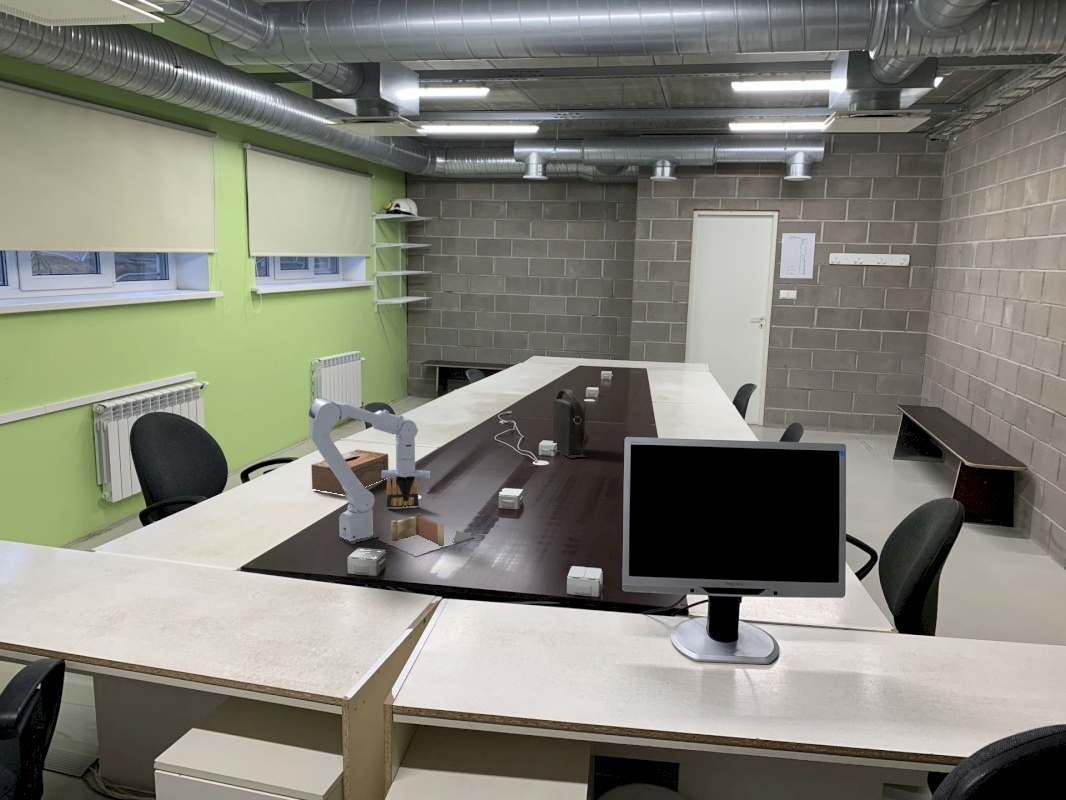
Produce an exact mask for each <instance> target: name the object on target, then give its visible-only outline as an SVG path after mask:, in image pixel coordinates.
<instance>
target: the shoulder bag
mask: <svg viewBox="0 0 1066 800" xmlns="http://www.w3.org/2000/svg"><path fill="white" fill-rule="evenodd" d="M565 393H566V394H567V396H568V397H569V398H567V397H565V398H563V397H564V395H565ZM586 408H587V407H586V405H585V403H582V402H580V401H579V400H578V398H577V396H576V394H575V393H574V391H573V390H571V389H566V388H564V389H561V390H559V391H558V393H557V394H556V399H555V400H554V401H553V408H552V410H553V411H552V413H553V414H552V415H553V417H552V418H553V419H552V444H553V443H557V450H558V451H559V452H561V453H563V454H565V455H568V456H570V455H581V454H584V453H585V448H586V444H588V442H589V437H588V436H589V435H588V431H587V428H586V411H587V409H586ZM584 455H585V454H584Z"/></svg>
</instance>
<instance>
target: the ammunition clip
mask: <svg viewBox="0 0 1066 800" xmlns="http://www.w3.org/2000/svg"><path fill="white" fill-rule="evenodd" d="M396 480H397V478H396V477H392V481H391V477H387V480H386V506H387V507H403V506H404V507H406V506H408V507H409V506H420V504H419V484H418V478H415V480H414V482H413V484H412V487H411V490H410V494H409V500H408V501H403V496H402V493H401V490H400V488H399V486H398V484H397V482H396ZM397 505H398V506H397Z"/></svg>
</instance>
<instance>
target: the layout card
mask: <svg viewBox="0 0 1066 800" xmlns="http://www.w3.org/2000/svg"><path fill="white" fill-rule="evenodd" d="M455 530H456V529H455ZM453 539H454V542H453V541H452V542H453V543H457V544H459V542H460V543H463V542H466V541H469V540H472V539H475V537H474V536H473V535H469V534H466V533H464V532H462V531H459V530H456V535H455V538H453Z"/></svg>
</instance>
